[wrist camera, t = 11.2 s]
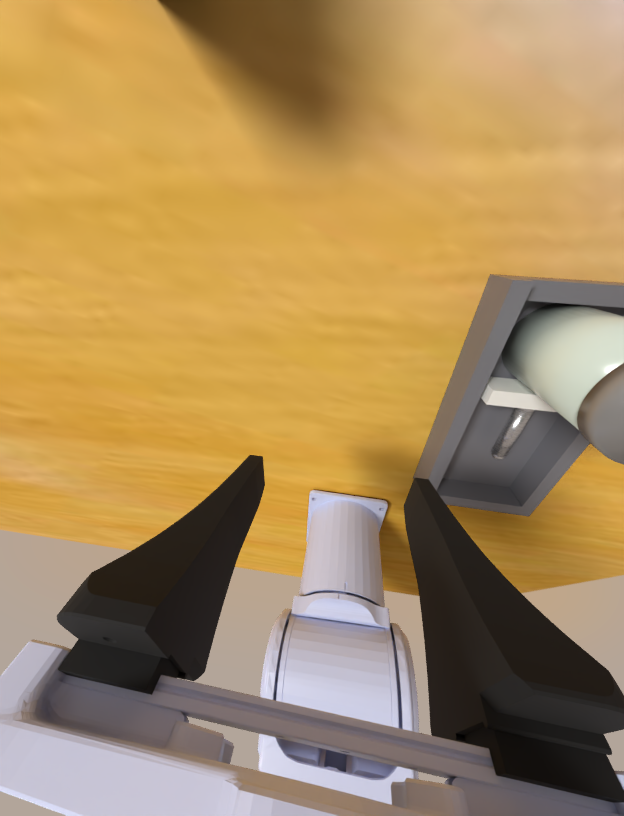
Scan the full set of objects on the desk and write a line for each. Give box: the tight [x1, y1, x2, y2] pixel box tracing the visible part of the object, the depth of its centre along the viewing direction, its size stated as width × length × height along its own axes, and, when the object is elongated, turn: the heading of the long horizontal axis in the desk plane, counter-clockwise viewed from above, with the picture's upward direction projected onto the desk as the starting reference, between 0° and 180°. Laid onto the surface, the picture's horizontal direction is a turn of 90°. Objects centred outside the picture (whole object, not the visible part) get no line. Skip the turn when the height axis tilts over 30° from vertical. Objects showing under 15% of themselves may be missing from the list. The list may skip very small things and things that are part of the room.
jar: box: [501, 303, 624, 464], centre depth 13 cm, size 5×5×8 cm
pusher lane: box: [413, 274, 624, 516], centre depth 18 cm, size 17×9×3 cm, turn 177°
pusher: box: [481, 377, 557, 460], centre depth 18 cm, size 6×6×2 cm
